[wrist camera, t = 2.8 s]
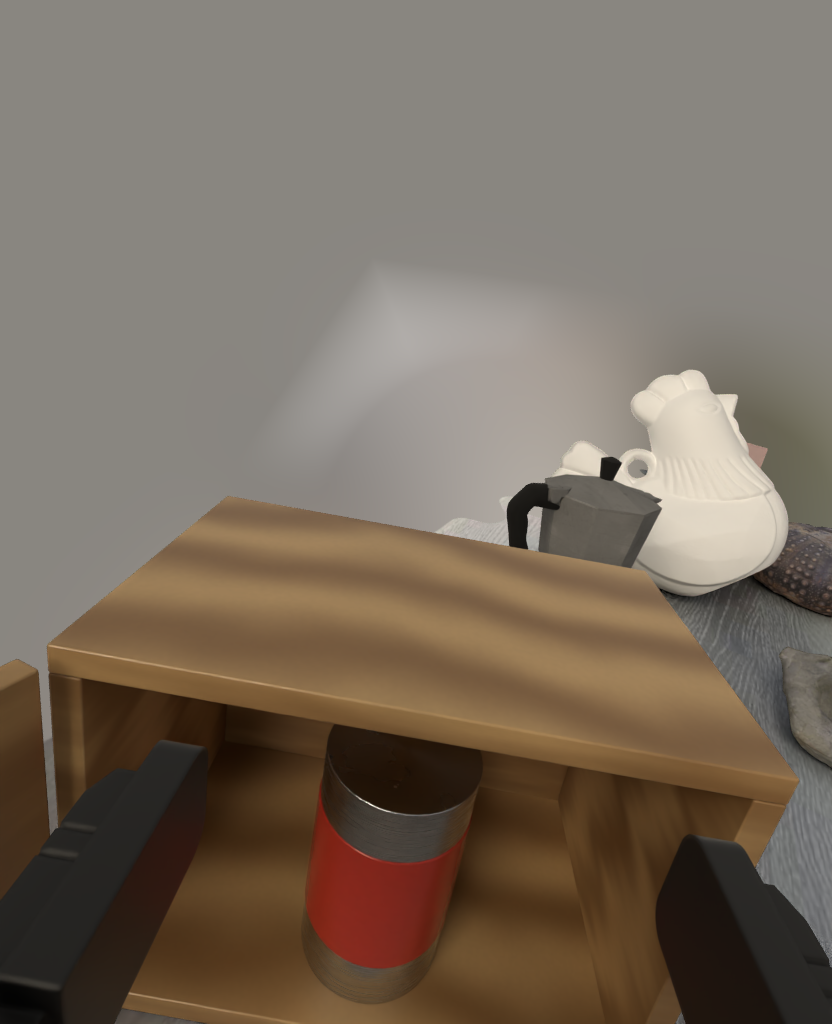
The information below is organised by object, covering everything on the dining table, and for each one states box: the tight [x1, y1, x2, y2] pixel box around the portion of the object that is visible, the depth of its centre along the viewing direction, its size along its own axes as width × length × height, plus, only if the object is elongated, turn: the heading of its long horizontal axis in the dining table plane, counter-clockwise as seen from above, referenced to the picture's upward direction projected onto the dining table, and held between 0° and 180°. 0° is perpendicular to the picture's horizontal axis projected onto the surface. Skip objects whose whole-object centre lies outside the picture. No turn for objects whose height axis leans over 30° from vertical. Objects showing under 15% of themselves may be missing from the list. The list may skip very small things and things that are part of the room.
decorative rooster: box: [551, 370, 788, 596], centre depth 68 cm, size 25×16×25 cm
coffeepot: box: [507, 457, 662, 568], centre depth 48 cm, size 15×9×18 cm, turn 114°
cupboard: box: [47, 496, 799, 1024], centre depth 26 cm, size 14×22×16 cm, turn 86°
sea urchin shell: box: [753, 522, 832, 616], centre depth 74 cm, size 19×19×10 cm
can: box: [301, 724, 483, 1004], centre depth 23 cm, size 6×6×10 cm
